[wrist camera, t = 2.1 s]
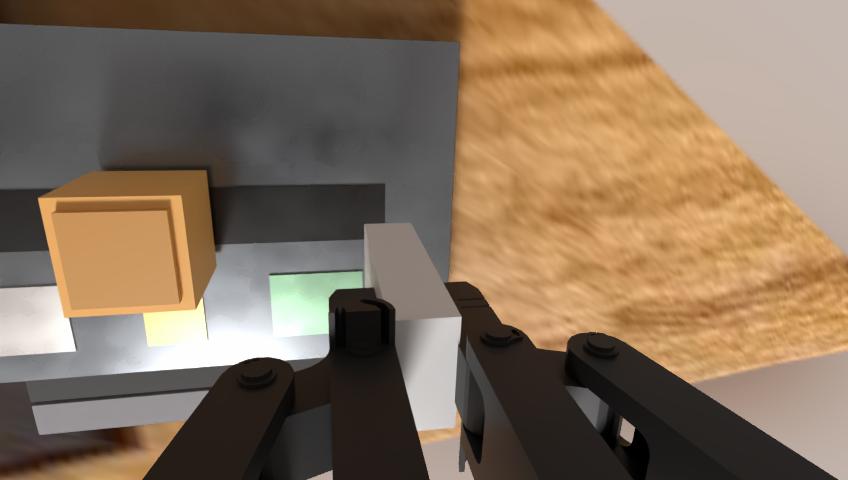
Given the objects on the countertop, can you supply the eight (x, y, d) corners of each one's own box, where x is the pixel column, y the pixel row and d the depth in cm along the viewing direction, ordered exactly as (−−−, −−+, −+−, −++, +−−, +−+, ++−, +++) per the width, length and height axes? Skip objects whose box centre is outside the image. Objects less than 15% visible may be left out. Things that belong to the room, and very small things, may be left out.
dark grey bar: (47, 382, 25) (31, 402, 23) (40, 353, 24) (23, 372, 23) (339, 358, 28) (341, 375, 26) (339, 332, 27) (340, 348, 26)
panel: (-85, 354, 23) (-142, 395, 20) (-198, 19, 19) (-291, 11, 16) (432, 319, 28) (445, 348, 25) (442, 44, 23) (460, 42, 21)
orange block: (109, 270, 20) (60, 322, 16) (91, 171, 19) (32, 200, 15) (216, 266, 21) (193, 314, 17) (206, 170, 20) (178, 197, 16)
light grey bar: (55, 413, 25) (39, 434, 24) (48, 385, 25) (31, 406, 23) (340, 387, 28) (342, 405, 27) (340, 361, 28) (341, 379, 26)
